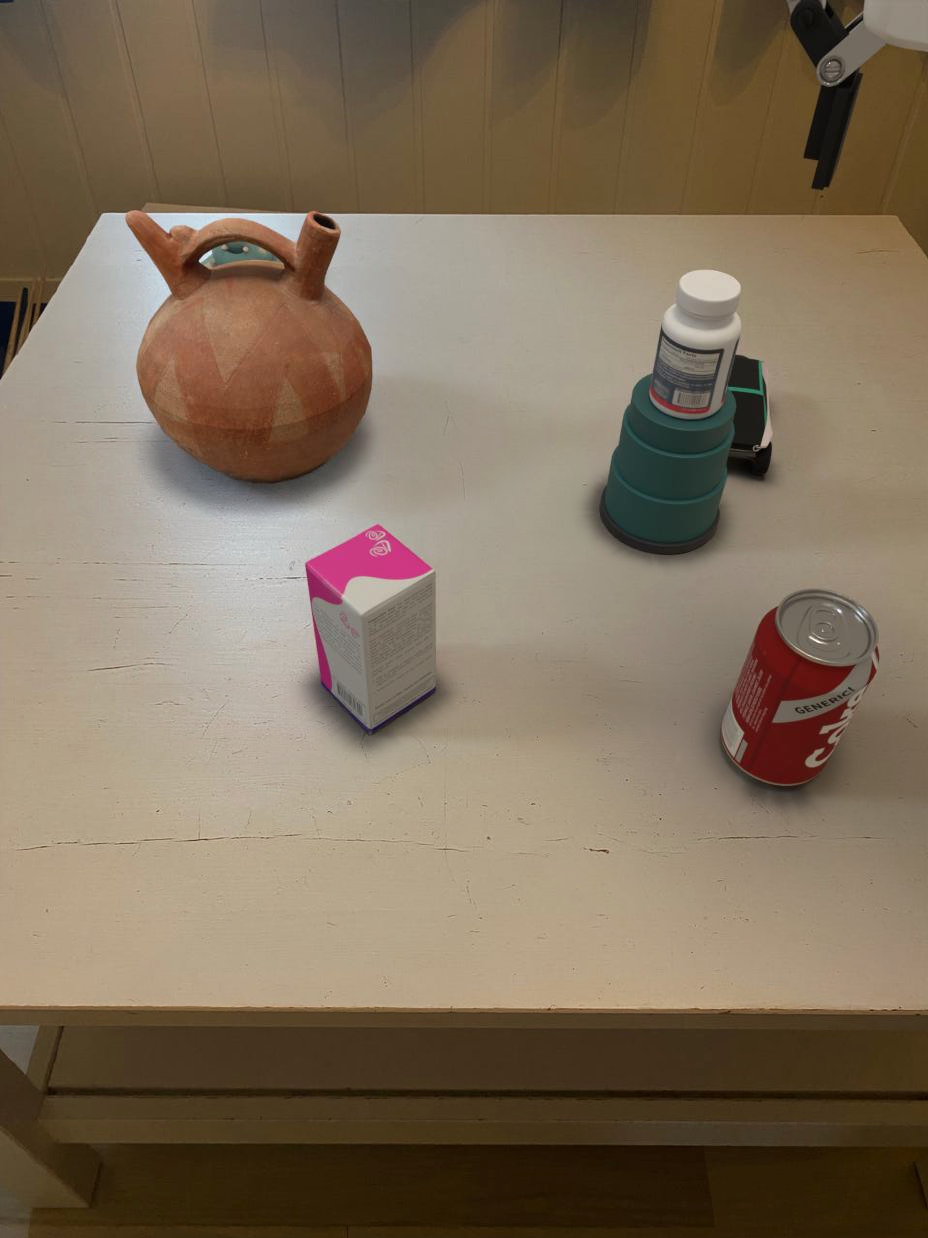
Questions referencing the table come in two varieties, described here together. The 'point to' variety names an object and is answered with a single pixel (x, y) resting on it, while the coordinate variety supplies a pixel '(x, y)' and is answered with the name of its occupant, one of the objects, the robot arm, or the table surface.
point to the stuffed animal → (237, 254)
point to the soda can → (800, 686)
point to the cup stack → (667, 476)
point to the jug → (252, 349)
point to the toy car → (751, 412)
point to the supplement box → (374, 626)
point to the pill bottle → (697, 346)
